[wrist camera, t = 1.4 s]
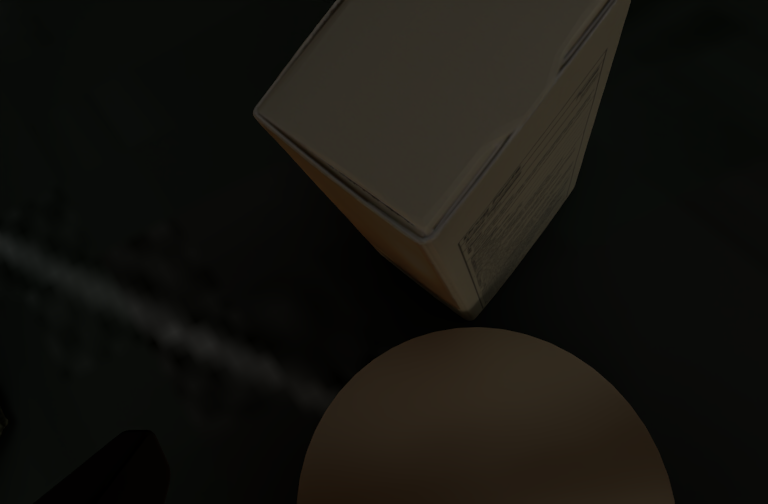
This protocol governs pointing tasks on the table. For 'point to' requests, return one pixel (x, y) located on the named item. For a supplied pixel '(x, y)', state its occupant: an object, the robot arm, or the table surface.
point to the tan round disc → (481, 429)
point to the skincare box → (447, 126)
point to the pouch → (2, 421)
